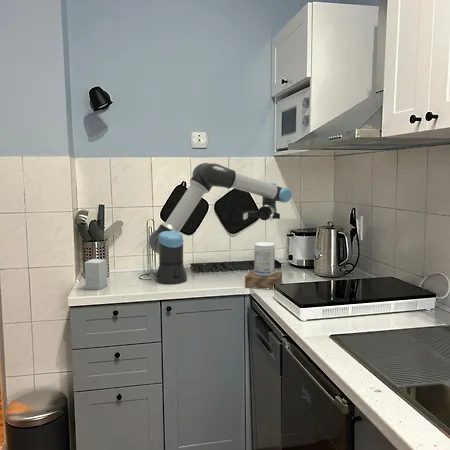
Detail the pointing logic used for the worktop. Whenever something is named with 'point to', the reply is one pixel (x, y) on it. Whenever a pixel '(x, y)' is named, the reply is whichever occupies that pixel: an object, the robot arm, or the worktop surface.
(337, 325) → the worktop surface
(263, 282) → the walnut block
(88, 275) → the supplement box
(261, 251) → the supplement tub
